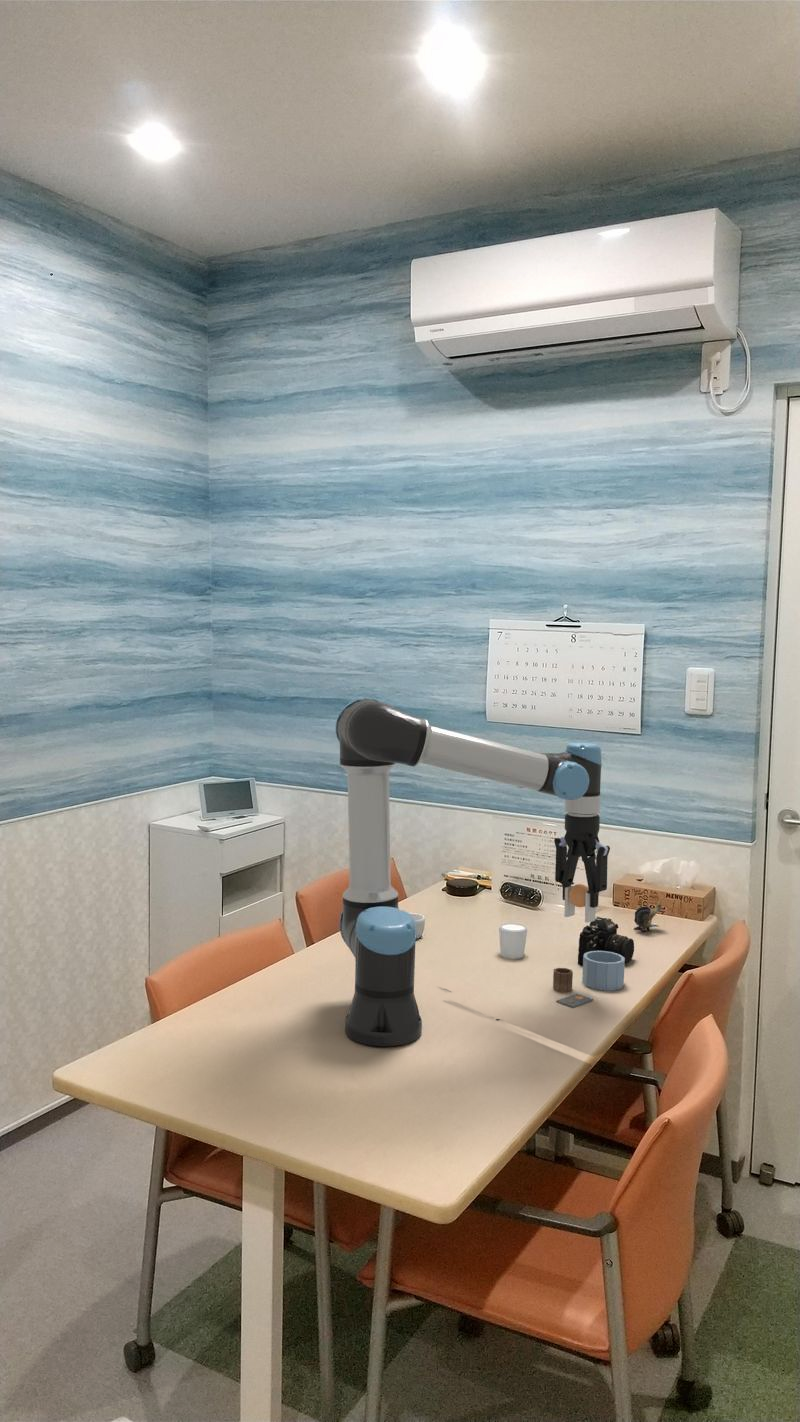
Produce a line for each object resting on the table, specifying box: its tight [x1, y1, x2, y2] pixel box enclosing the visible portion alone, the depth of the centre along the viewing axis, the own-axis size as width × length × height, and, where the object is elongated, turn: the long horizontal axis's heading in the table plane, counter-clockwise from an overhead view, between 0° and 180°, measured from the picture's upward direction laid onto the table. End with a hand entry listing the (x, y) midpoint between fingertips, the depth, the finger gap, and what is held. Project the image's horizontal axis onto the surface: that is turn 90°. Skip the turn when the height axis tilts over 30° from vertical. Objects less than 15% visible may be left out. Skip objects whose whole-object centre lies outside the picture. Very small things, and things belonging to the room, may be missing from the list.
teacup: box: [408, 912, 426, 940], centre depth 251 cm, size 10×8×5 cm
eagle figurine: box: [633, 903, 662, 934], centre depth 258 cm, size 8×7×9 cm
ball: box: [569, 883, 589, 908], centre depth 217 cm, size 5×5×5 cm
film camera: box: [577, 916, 635, 967], centre depth 237 cm, size 18×12×10 cm
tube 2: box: [581, 951, 626, 991], centre depth 221 cm, size 9×9×6 cm
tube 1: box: [552, 967, 574, 993], centre depth 217 cm, size 4×4×4 cm
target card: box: [555, 992, 594, 1009], centre depth 209 cm, size 7×4×1 cm, turn 132°
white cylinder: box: [498, 923, 528, 960], centre depth 239 cm, size 7×7×7 cm
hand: (579, 918), depth 217 cm, fingers closed on ball, 5 cm apart
